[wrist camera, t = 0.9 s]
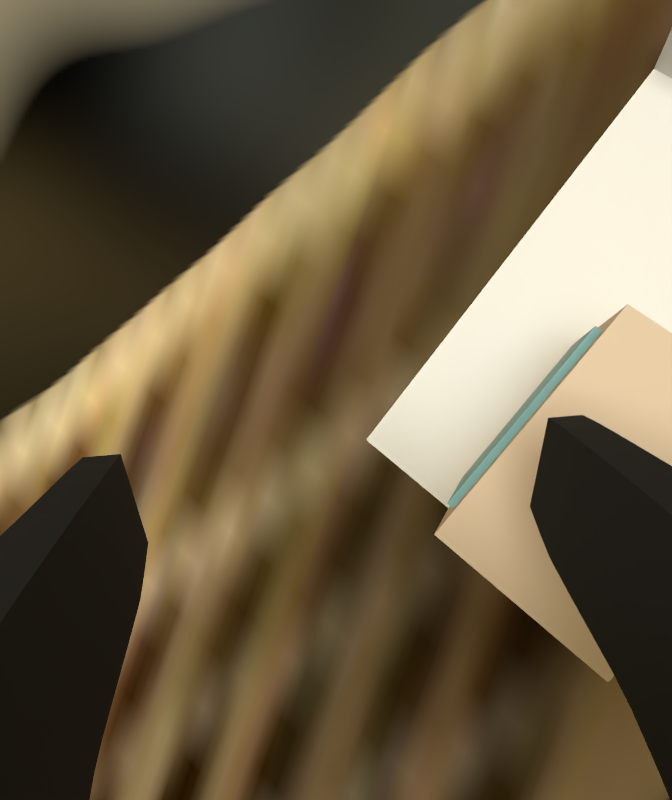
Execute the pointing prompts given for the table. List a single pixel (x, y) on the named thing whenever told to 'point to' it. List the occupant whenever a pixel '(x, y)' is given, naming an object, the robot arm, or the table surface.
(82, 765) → the robot arm
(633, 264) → the large cream panel
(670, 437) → the kraft carton
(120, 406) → the table surface
